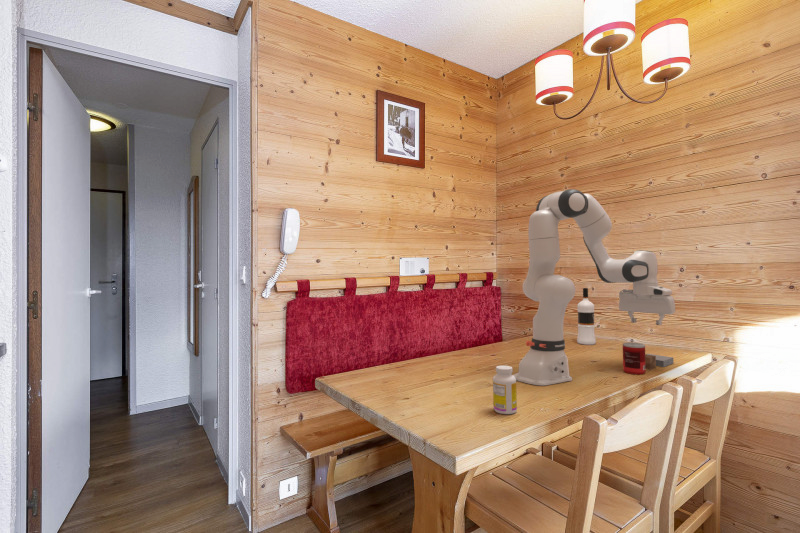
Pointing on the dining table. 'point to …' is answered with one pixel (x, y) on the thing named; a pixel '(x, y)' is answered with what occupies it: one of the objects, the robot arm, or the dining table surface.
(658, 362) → the slate tile
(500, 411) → the supplement bottle
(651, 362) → the walnut block
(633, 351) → the canned food
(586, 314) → the vodka
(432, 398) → the dining table surface
